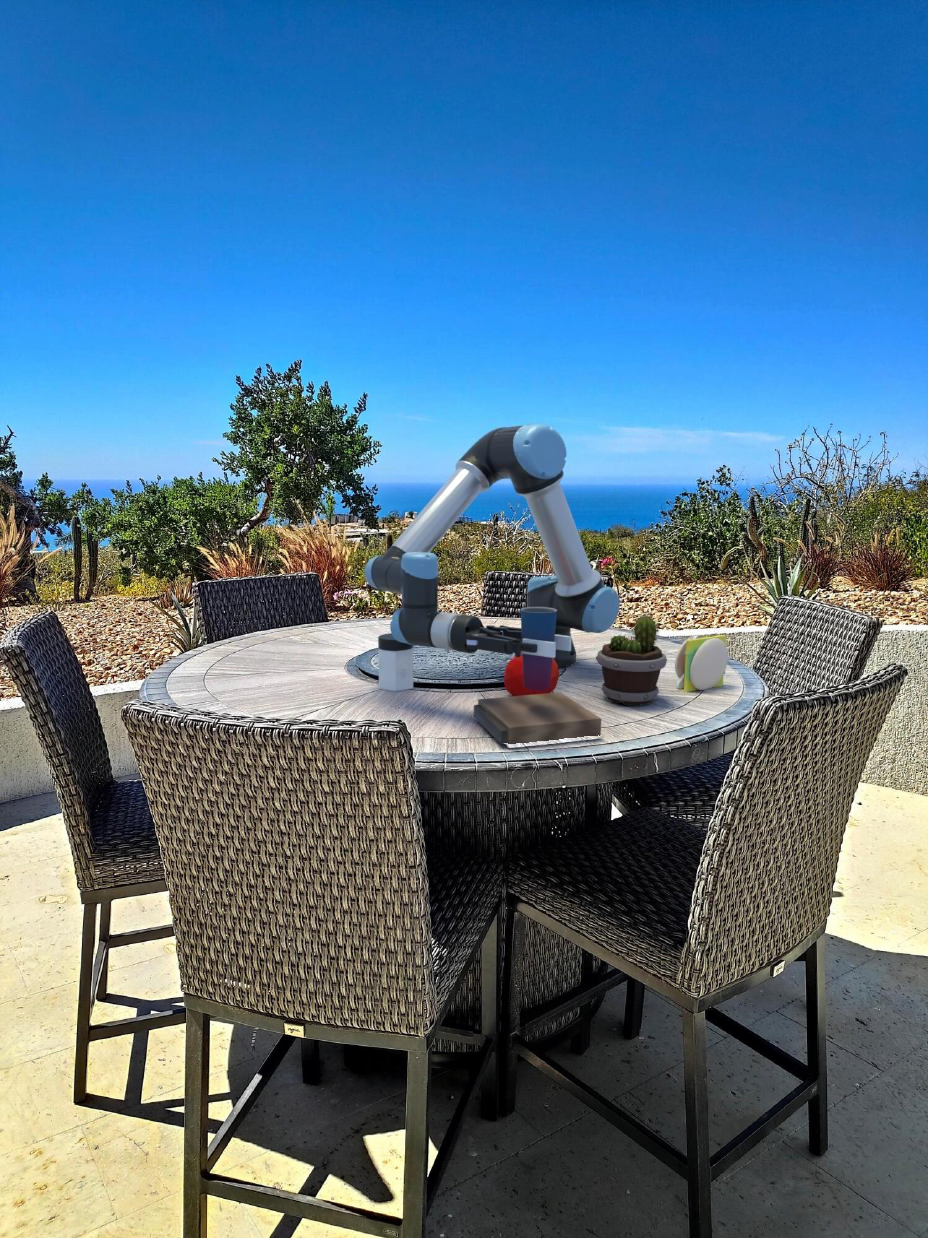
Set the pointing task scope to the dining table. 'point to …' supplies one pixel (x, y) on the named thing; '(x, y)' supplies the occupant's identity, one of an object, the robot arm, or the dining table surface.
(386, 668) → the jar
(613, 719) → the dining table surface
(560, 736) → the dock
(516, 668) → the tomato
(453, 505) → the robot arm
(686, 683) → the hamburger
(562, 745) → the dining table surface
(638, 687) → the flowerpot
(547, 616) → the cup
